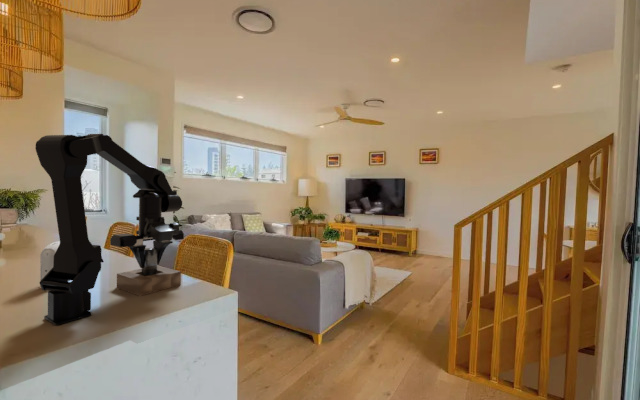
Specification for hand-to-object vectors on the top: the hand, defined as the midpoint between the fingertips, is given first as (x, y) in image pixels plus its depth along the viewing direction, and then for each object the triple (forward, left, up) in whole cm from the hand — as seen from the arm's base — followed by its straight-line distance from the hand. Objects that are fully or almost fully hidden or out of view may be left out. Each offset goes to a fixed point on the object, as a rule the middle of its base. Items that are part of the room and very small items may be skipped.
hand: (149, 266), depth 89 cm
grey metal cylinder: (0, 0, -3) cm, 3 cm away
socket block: (0, 0, -6) cm, 6 cm away
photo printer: (-14, +23, -6) cm, 28 cm away
